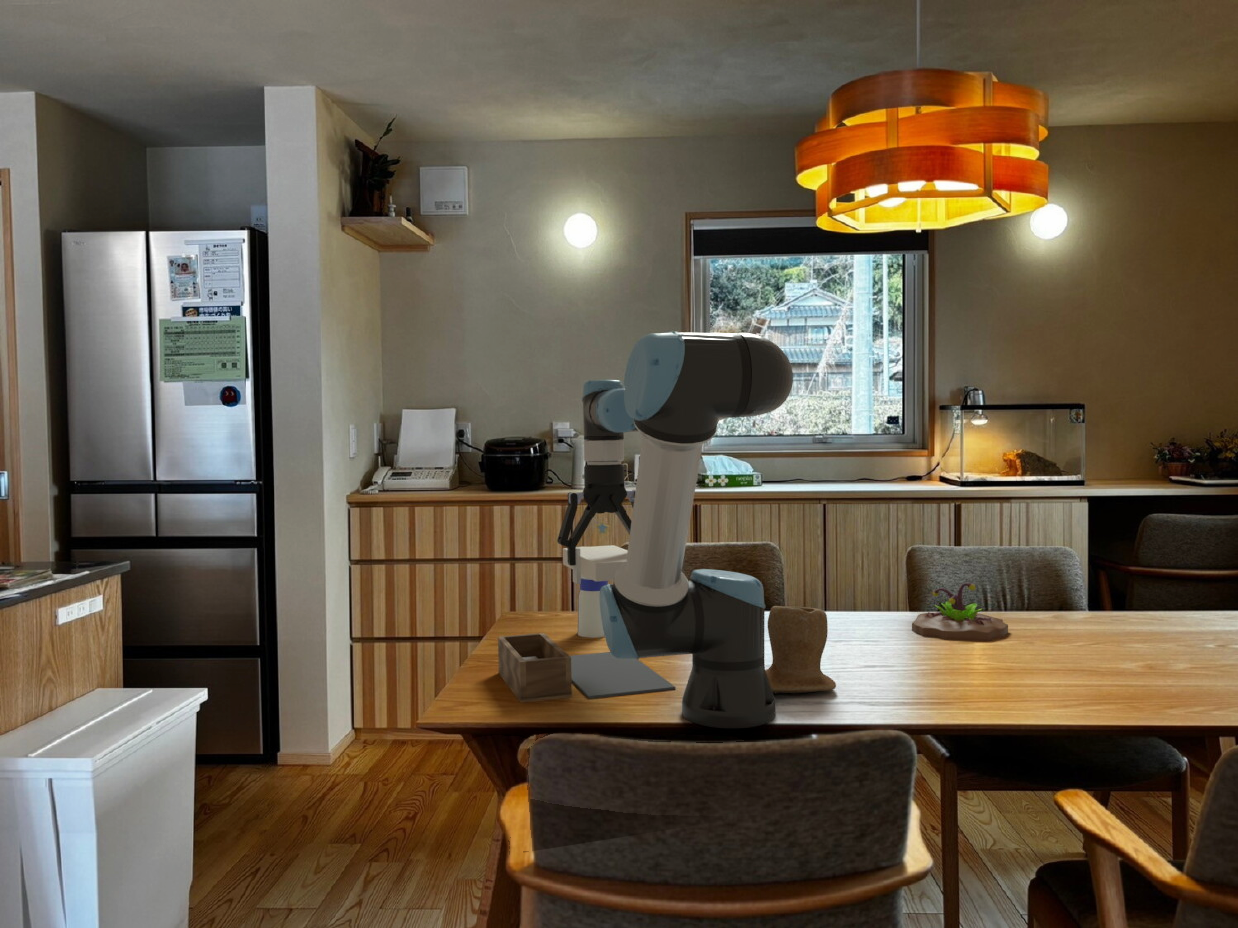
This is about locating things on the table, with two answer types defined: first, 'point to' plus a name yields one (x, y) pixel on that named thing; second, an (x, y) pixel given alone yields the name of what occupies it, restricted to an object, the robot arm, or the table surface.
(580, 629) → the water bottle
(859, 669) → the table surface
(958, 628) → the plant
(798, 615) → the brown suede boot shape
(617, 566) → the lid
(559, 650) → the walnut box
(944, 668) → the table surface
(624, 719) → the table surface
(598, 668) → the rubber mat
